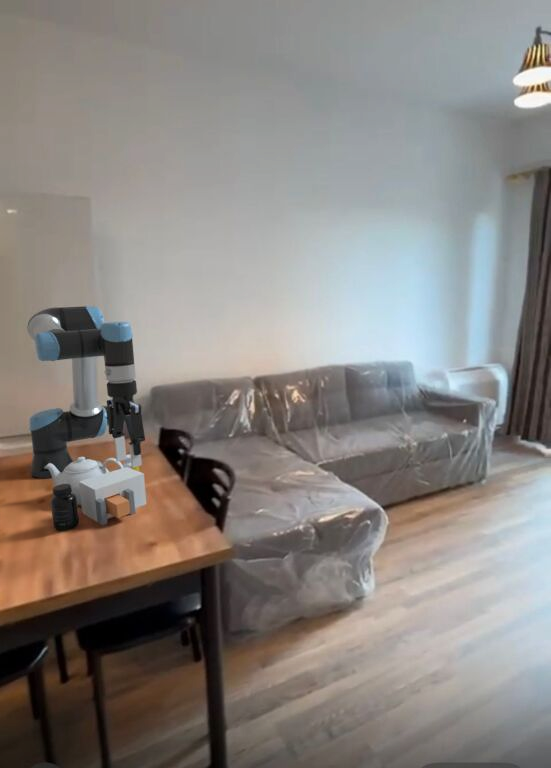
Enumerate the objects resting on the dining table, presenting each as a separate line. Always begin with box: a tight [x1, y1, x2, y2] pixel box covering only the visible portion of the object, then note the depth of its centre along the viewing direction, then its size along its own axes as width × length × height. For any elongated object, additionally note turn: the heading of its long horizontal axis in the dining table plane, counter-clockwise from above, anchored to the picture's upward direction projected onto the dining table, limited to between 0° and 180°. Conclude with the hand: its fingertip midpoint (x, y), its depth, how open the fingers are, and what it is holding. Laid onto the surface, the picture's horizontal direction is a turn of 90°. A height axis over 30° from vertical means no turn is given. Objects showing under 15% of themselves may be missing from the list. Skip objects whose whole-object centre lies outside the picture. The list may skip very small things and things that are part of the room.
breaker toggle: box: [104, 494, 130, 519], centre depth 142 cm, size 8×4×4 cm, turn 47°
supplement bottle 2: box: [122, 454, 140, 472], centre depth 169 cm, size 5×5×10 cm
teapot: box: [44, 456, 123, 507], centre depth 158 cm, size 19×18×14 cm
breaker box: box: [79, 467, 147, 527], centre depth 147 cm, size 13×16×10 cm
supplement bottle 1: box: [49, 484, 80, 532], centre depth 137 cm, size 7×7×12 cm
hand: (128, 462), depth 133 cm, fingers open, 7 cm apart
